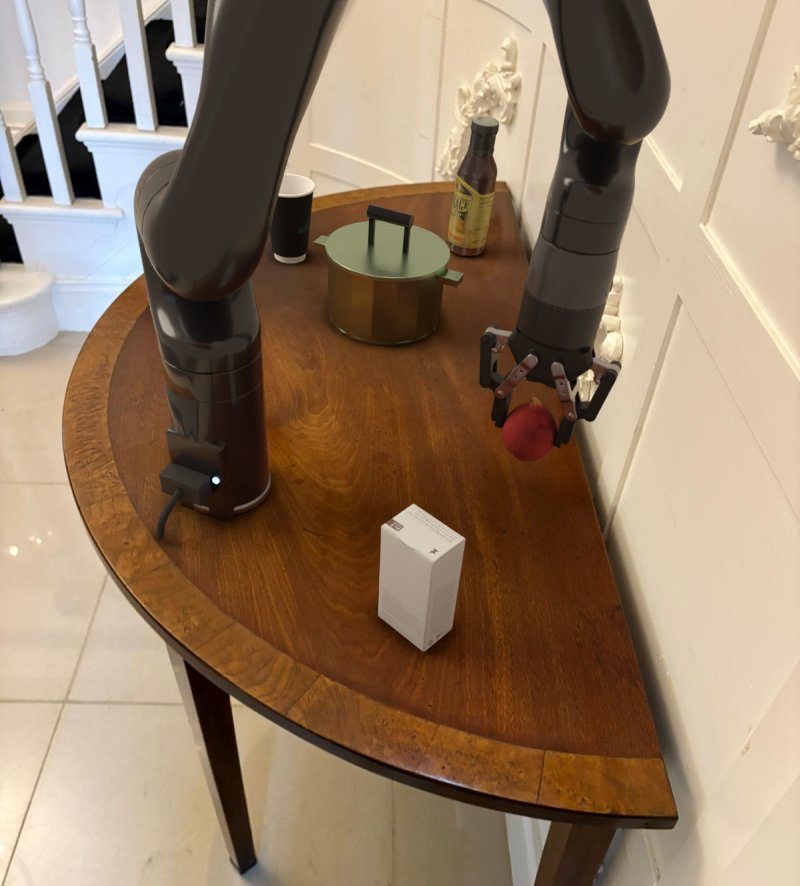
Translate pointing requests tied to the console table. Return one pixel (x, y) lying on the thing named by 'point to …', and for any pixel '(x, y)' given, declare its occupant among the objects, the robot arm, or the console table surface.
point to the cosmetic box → (419, 576)
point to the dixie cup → (292, 219)
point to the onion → (529, 431)
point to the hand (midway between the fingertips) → (529, 432)
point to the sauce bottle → (474, 190)
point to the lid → (387, 248)
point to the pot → (385, 305)
